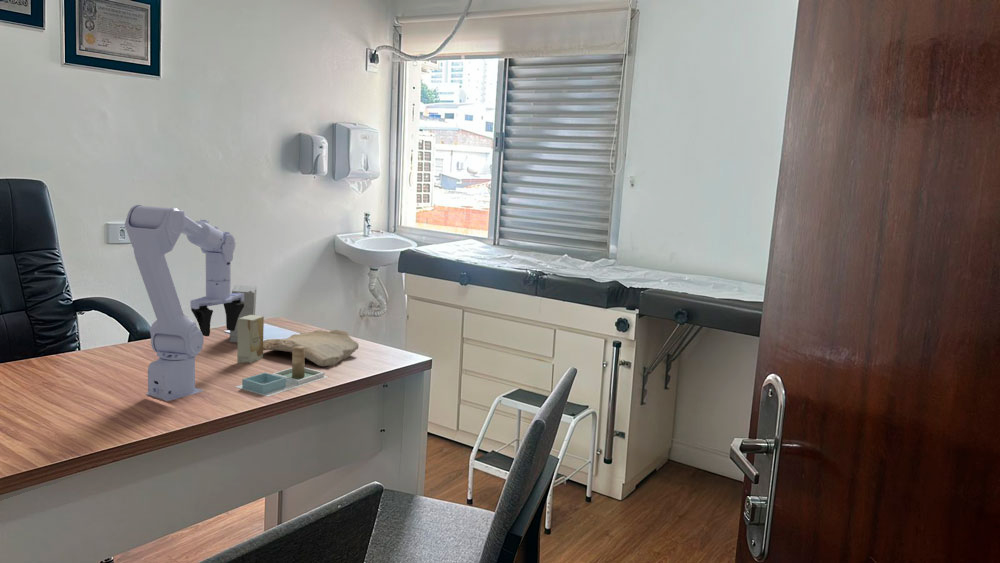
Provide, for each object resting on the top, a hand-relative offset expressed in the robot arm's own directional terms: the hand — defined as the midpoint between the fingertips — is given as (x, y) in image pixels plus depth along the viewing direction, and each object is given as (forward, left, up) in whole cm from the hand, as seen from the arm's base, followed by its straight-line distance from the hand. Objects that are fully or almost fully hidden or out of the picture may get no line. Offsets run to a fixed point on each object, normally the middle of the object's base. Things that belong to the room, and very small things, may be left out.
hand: (218, 332), depth 178 cm
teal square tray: (-2, -19, -10) cm, 21 cm away
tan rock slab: (+27, -5, -11) cm, 30 cm away
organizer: (+4, -19, -10) cm, 22 cm away
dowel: (+9, -19, -10) cm, 23 cm away
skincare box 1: (+26, +21, -11) cm, 35 cm away
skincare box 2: (+12, +2, -11) cm, 16 cm away
